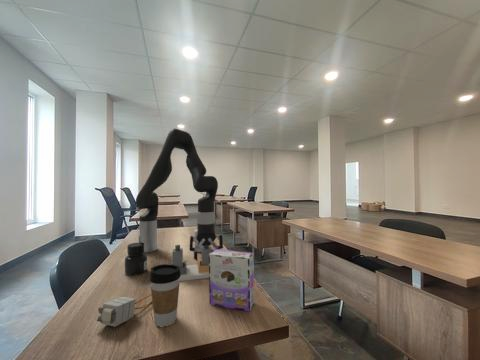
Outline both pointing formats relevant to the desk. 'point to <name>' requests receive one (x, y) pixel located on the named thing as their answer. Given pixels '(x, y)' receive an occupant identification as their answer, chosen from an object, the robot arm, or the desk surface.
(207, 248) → the plug
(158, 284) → the coffee cup
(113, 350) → the desk surface
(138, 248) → the ink bottle
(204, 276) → the dock
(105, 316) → the electrical component
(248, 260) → the candy box
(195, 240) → the ink box
